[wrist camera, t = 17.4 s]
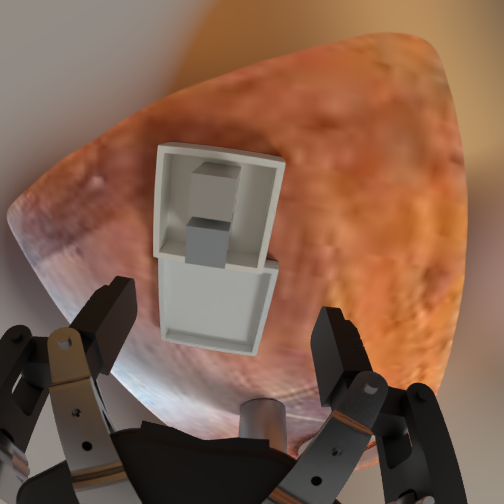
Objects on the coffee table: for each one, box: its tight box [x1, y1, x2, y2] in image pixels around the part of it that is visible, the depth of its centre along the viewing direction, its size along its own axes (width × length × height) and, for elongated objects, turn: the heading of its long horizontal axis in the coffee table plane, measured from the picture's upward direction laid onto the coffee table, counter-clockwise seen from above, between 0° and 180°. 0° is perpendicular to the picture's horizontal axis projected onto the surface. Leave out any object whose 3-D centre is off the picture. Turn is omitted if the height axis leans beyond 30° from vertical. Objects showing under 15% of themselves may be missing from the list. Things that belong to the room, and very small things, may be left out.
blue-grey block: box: [185, 212, 234, 269], centre depth 29 cm, size 4×4×6 cm
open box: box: [153, 142, 286, 275], centre depth 29 cm, size 12×12×4 cm
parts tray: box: [158, 258, 279, 356], centre depth 37 cm, size 15×14×2 cm
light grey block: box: [188, 162, 241, 222], centre depth 27 cm, size 4×4×6 cm
